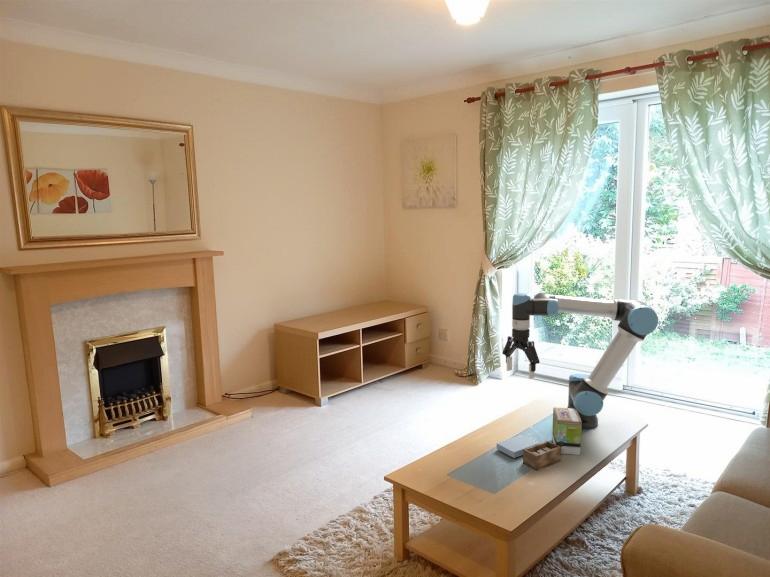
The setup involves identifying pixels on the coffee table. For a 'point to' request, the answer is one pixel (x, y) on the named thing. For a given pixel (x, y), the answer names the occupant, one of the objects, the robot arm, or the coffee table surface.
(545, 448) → the caddy
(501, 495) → the coffee table surface
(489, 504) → the coffee table surface
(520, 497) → the coffee table surface
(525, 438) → the lid
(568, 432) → the tea box
